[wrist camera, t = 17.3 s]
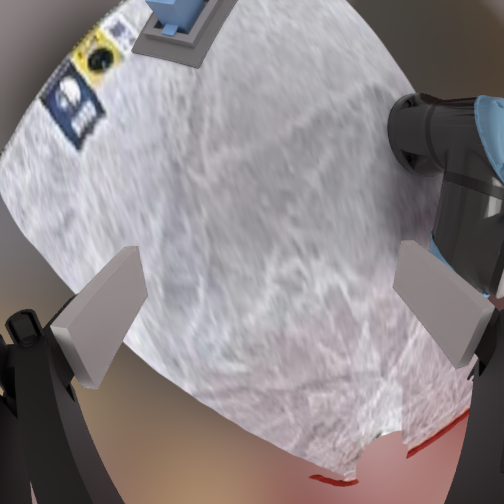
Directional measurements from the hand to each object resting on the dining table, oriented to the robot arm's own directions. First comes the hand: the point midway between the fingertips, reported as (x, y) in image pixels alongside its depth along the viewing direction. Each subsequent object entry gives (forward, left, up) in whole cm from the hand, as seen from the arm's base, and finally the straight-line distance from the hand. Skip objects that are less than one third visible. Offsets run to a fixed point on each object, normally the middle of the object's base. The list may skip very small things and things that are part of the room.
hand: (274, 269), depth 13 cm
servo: (+9, -29, -30) cm, 42 cm away
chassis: (+9, -29, -31) cm, 43 cm away
